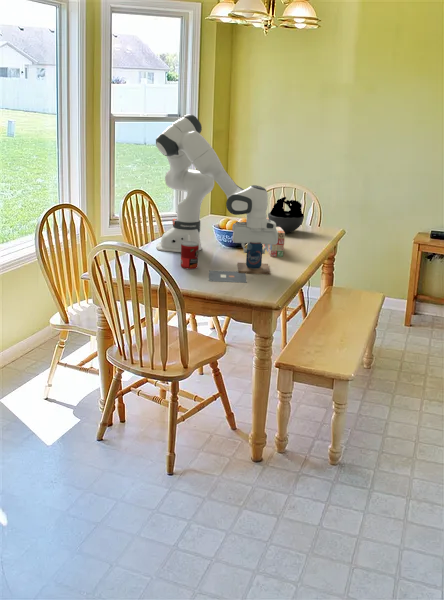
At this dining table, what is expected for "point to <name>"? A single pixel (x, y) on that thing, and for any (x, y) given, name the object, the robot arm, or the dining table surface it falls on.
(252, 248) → the soda can
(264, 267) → the walnut coaster
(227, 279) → the blue gray card
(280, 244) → the stack of blocks
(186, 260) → the canned food
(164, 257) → the dining table surface
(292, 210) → the coal bowl
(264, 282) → the dining table surface
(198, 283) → the dining table surface
